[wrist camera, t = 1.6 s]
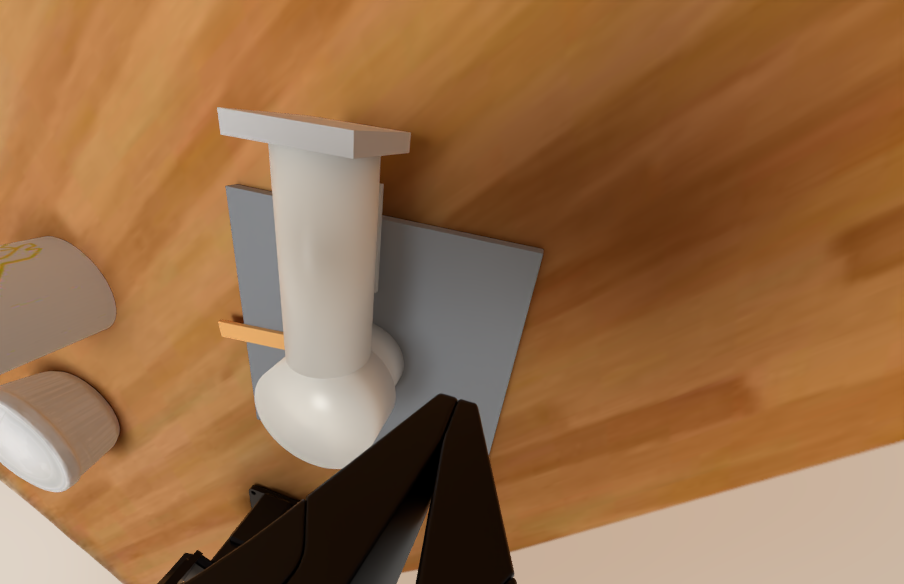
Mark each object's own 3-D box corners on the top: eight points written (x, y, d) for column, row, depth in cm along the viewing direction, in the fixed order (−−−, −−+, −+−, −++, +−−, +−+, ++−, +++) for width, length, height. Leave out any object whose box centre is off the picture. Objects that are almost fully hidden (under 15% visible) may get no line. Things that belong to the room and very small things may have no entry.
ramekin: (26, 342, 34) (-58, 375, 29) (124, 390, 33) (52, 432, 28) (51, 420, 39) (-17, 459, 34) (136, 463, 38) (77, 510, 33)
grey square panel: (480, 483, 25) (471, 527, 23) (244, 405, 29) (211, 434, 26) (552, 213, 17) (553, 229, 14) (205, 146, 20) (148, 147, 17)
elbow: (399, 426, 22) (361, 496, 17) (307, 396, 23) (250, 456, 19) (429, 135, 15) (378, 134, 10) (292, 112, 16) (196, 103, 11)
